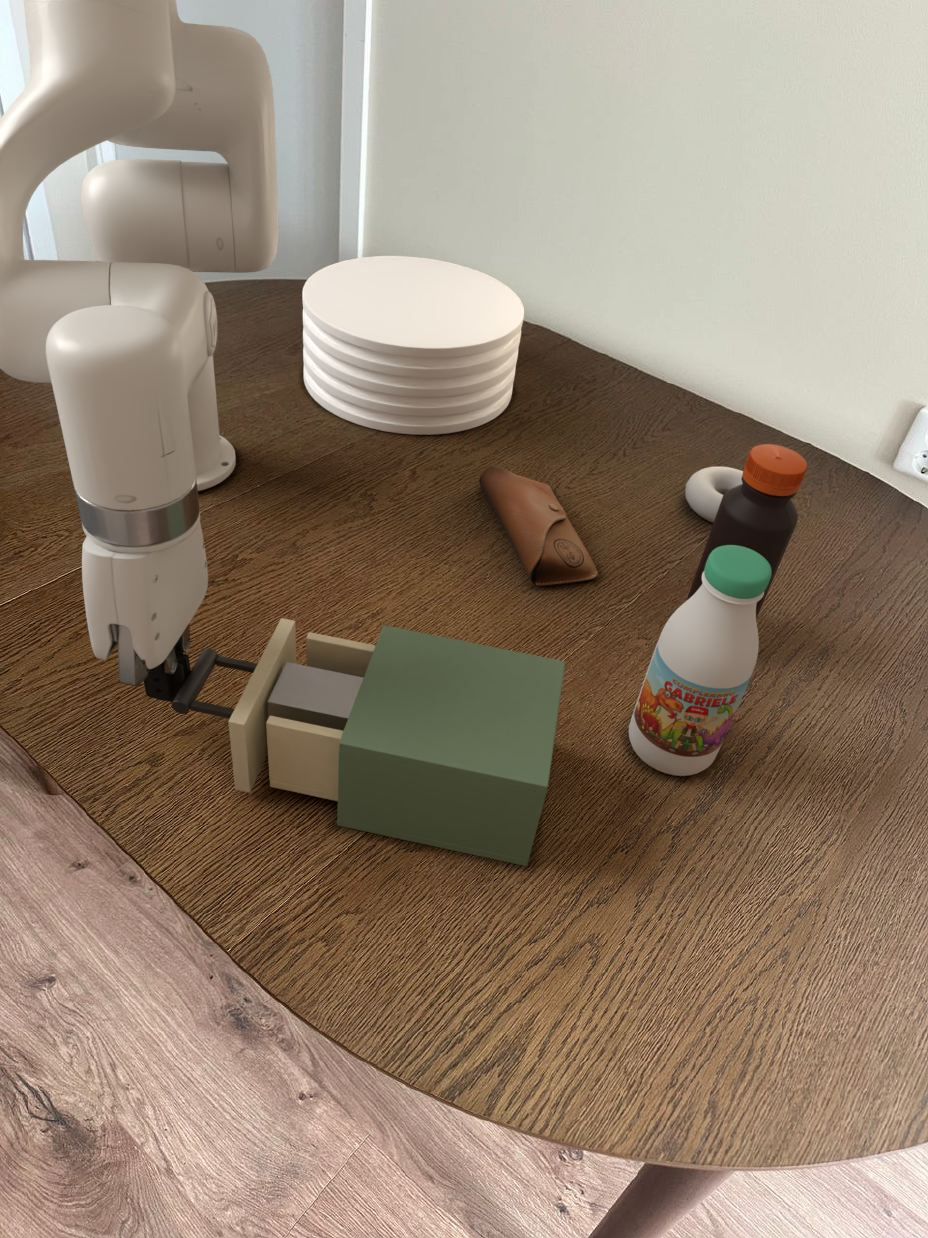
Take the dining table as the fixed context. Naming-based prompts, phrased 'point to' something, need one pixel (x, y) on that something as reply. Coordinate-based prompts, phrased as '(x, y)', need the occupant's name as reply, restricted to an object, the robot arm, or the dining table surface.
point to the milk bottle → (701, 666)
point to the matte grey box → (314, 696)
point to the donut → (710, 489)
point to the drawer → (293, 747)
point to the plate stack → (410, 343)
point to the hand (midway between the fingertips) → (170, 693)
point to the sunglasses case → (537, 529)
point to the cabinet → (450, 745)
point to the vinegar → (758, 509)
